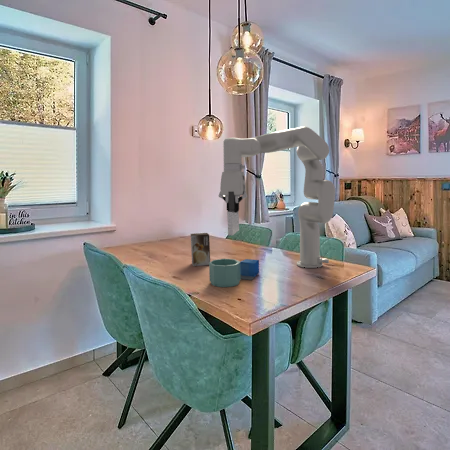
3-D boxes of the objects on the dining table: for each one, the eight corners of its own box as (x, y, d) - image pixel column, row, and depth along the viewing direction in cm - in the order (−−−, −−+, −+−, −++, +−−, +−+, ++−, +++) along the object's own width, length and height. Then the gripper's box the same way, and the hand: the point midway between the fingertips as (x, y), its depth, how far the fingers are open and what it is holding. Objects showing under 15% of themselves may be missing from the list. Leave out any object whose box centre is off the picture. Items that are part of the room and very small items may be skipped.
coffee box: (208, 262, 186) (207, 232, 183) (210, 265, 179) (209, 234, 177) (191, 263, 184) (190, 233, 182) (192, 266, 178) (191, 235, 175)
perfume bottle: (254, 263, 154) (229, 261, 159) (254, 276, 155) (229, 274, 160) (258, 260, 160) (234, 258, 165) (259, 273, 161) (234, 270, 166)
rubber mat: (257, 274, 160) (257, 273, 160) (251, 280, 151) (251, 279, 151) (232, 272, 164) (232, 272, 164) (225, 278, 155) (225, 277, 155)
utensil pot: (243, 279, 152) (242, 259, 151) (234, 288, 141) (233, 266, 140) (216, 277, 156) (216, 258, 155) (206, 285, 145) (205, 264, 144)
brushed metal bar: (239, 230, 154) (238, 189, 150) (233, 235, 146) (231, 192, 142) (234, 229, 155) (232, 189, 151) (227, 235, 147) (225, 192, 142)
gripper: (253, 168, 147) (253, 211, 149) (217, 169, 152) (218, 211, 154) (248, 167, 140) (248, 213, 142) (211, 168, 145) (212, 212, 147)
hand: (232, 211), depth 148 cm, fingers closed on brushed metal bar, 2 cm apart
